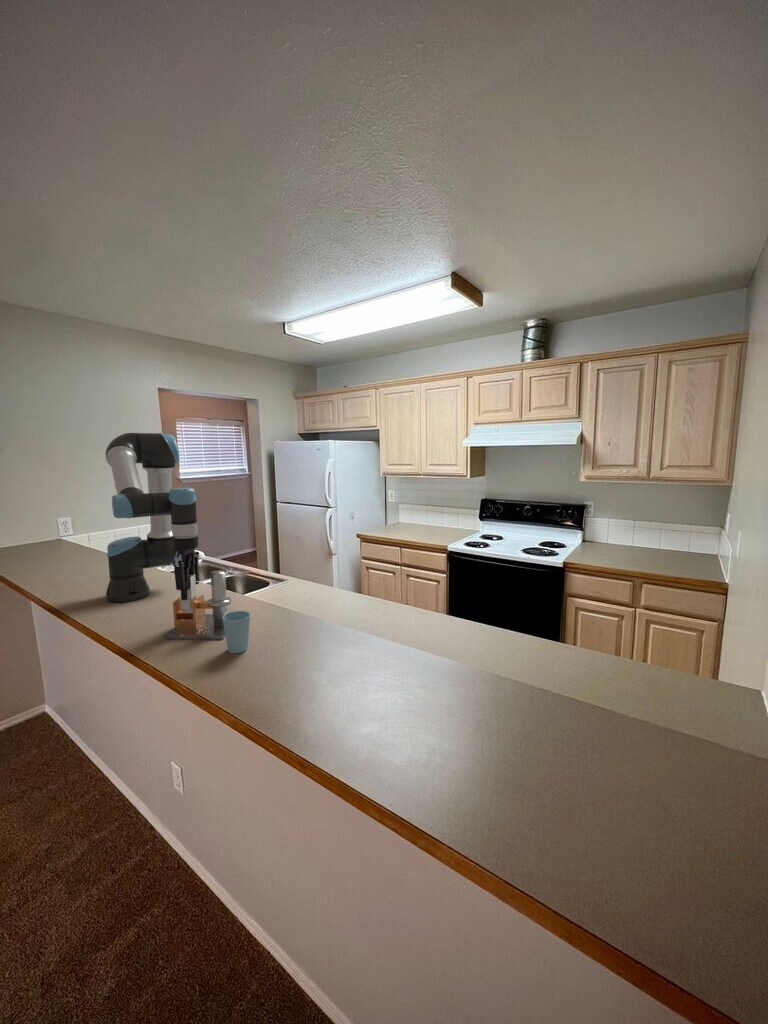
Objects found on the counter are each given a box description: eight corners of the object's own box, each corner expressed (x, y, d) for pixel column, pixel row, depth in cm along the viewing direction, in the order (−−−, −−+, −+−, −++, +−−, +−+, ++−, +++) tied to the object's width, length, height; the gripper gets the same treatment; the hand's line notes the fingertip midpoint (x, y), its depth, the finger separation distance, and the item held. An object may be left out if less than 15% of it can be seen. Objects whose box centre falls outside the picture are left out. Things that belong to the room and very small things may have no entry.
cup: (248, 641, 131) (247, 608, 129) (254, 651, 124) (252, 617, 123) (222, 646, 127) (220, 613, 126) (227, 657, 120) (225, 622, 119)
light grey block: (187, 609, 142) (184, 574, 140) (197, 609, 141) (195, 574, 140) (182, 612, 138) (179, 577, 137) (192, 612, 138) (190, 577, 136)
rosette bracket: (191, 616, 150) (188, 564, 147) (242, 617, 150) (240, 564, 147) (165, 638, 132) (161, 579, 130) (222, 639, 132) (219, 580, 129)
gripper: (185, 531, 145) (189, 597, 148) (159, 541, 128) (164, 615, 131) (207, 531, 145) (211, 598, 148) (184, 541, 128) (189, 616, 131)
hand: (189, 606), depth 140 cm, fingers closed on light grey block, 3 cm apart
